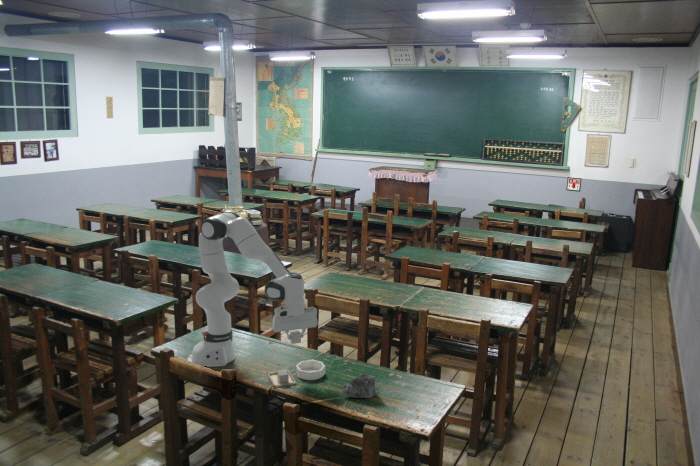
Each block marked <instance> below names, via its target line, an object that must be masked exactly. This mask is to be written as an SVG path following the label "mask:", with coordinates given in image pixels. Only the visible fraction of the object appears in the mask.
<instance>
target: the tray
mask: <svg viewBox="0 0 700 466" xmlns="http://www.w3.org/2000/svg"><path fill="white" fill-rule="evenodd" d="M280 371H287V373H288V375H289V383H282V384H279V383H278V381H277V372H280ZM266 375H267V378H268V380H269V381H270V383H271V385H272V388H282V387H287V386H293V385H297V381H296V379H295V378H294V376H293V375H292V372H291V371H290V370H289V369H283V370H277V371H276V370H275V371H270V372H266Z"/></svg>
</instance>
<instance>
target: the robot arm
mask: <svg viewBox="0 0 700 466" xmlns="http://www.w3.org/2000/svg"><path fill="white" fill-rule="evenodd" d="M228 237H229V238H230V239H232V240H233V242H234V244H235V246H236V248H237V249H238V251H239V252H240V254H241V255H242V256H243V257H244V258H246V259H249V260H257V261H261V262H263V263H264V264H266V266H267V267H268V269H270V270H271V272H272V273H273V275H275V277H276V278H273V279H271V280H270V281H268V282H266V284H265V286H264V295H265V296H266V298H267V299H269V301H271V302H272V301H273V302H282V301H283V302H284V304H282V305H280V306H277V307H276V308H274V312H273V313H274V315H273V317H272V321H271V322H272V325H271V326H272V331H274V332H275V333H281V332H285V334H286V335H287V340H288V341H290V340H291V339H292V338H291V335H290V331H297V330H301V332H300V333H301V339H303V338H304V334H305V333H306V331H307V330H306V329H310V328H317V326H318V325H319V323H318V318H317V316H318V309H317V307H314V306H311V307H309V306H308V307H305V305H306V304H305V299H304V297H305V282H304V279H303V276H302V275H301V274H300V273H297V272H293V271H292V272H291V271H289V270H288V268H287V267H286V265H284V263H283V262H282V261H281V259H280V258H279V257H278V255H277V254H276V253H275V252H274V250H273V249H272V248H271V247H270V246H269V245H267V244H266V242H265V241H264V240H263V239H262V237H261V236H260V235H259V233H258V232H257V230H256V228H255V227H254V226H253V225H252V223H251V221H249V220H248V219H247V218H246V217H243V216H240V214H238V213H236V212H234V211H233V212H231V211H227V212H221V213H218V214H215V215H213V216H208V217H206V219H203V220H202V222H201V224H200V232H199V235H198V251H199V258H200V264H201V269H202V271H203V273H205V274H207V275H208V277H209V278H210V281H211V282H210V283H208V284H206V285H203V286H202V287H201V288H199V290H198V291H196V294H195V301H196V304H197V305H198V306H199V307H200V308H202V309H203V311H204V312H205V314H206V316H205V317H206V320H207V321H206V323H207V330H202V331H201V336H203V339H202V340H200V341H199V342H198V343H197V344H195V345H194V347H193V349H192V353H191V354H190V355H188V357H187V362H188V361H190V362H192V363H196V364H199V365H203V366H207V367H206V368H213V367H225V366H227V365H228V364H229V363H231V362H233V361H234V360H235V359H236V354H235V351H234V345H233V339H234V338H233V336H234V335H233V334H234V333H233V330H232V315H231V313H230V312H229V311H227V310H226V307H225V303H226V302H227V301H230V300H232V299H233V298H235V296H236V295H238V293H239V291H240V284H239V282H238V280H237V279H236V278H235V277H233V276H232V275H231V273H230V271H229V268H228V267H227V263H226V262H227V261H226V257H225V251H224V246H223V244H224V243H223V240H224V239H225V238H228Z"/></svg>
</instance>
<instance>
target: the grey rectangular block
mask: <svg viewBox="0 0 700 466" xmlns="http://www.w3.org/2000/svg"><path fill="white" fill-rule="evenodd" d="M279 371H280V372H277V381H278V383H279V384H282V383H289V375H288V373H287V371H282V370H279Z"/></svg>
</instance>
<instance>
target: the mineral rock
mask: <svg viewBox="0 0 700 466" xmlns="http://www.w3.org/2000/svg"><path fill="white" fill-rule="evenodd" d="M342 386H343V390H342V395H344V396H345V397H349V398H357V399H358V398H367V399H369V398H372V399H373V398H375V396H376V389H375V388H376V380H375V376H374V375H367V373H362V374H359V375H357V377H355V378H353V379H351V380H350V381H348V382H347V383H345V384H344V385H342Z"/></svg>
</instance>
